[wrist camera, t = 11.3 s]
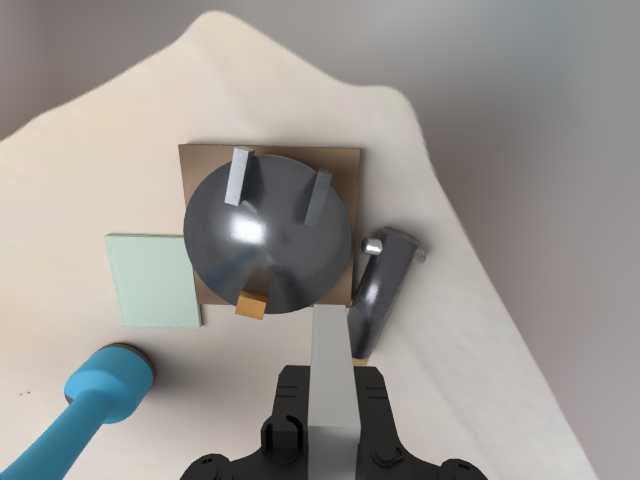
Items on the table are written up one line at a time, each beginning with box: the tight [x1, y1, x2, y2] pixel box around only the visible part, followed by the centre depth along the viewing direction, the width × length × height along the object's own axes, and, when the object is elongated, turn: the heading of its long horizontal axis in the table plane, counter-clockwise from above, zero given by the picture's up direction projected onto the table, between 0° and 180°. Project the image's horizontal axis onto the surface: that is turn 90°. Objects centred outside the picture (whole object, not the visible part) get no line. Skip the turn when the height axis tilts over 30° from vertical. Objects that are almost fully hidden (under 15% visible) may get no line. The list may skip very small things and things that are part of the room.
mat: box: [104, 234, 202, 328], centre depth 31 cm, size 10×8×1 cm
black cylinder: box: [347, 227, 426, 366], centre depth 30 cm, size 6×4×14 cm
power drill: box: [0, 344, 155, 480], centre depth 23 cm, size 28×9×23 cm, turn 124°
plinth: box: [178, 144, 360, 308], centre depth 29 cm, size 15×15×2 cm
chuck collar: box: [183, 146, 351, 320], centre depth 26 cm, size 14×14×4 cm
